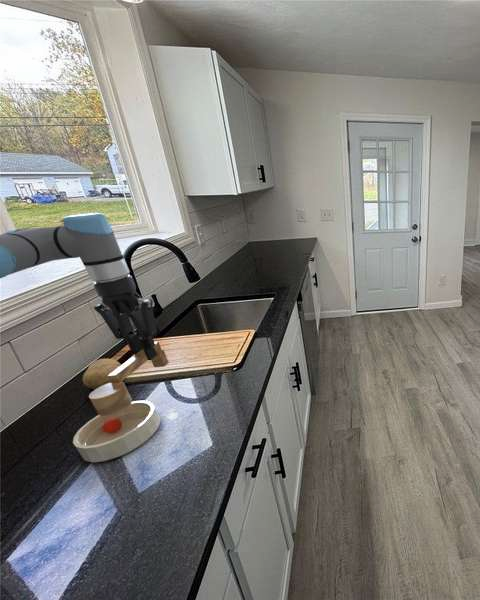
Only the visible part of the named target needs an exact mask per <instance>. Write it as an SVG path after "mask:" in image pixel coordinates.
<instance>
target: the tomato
mask: <svg viewBox="0 0 480 600" xmlns="http://www.w3.org/2000/svg"><path fill="white" fill-rule="evenodd" d="M121 425H122V423H121V421H120V420H119V419H117V418H112V419H109V420H107V421H106V422H105V423H104V424H103V431H104V432H106V433H114V432H116V431H118V430H119V429H120V427H121Z"/></svg>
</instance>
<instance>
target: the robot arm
mask: <svg viewBox="0 0 480 600" xmlns="http://www.w3.org/2000/svg"><path fill="white" fill-rule="evenodd" d="M62 223H63V225H57V226H56V225H55V226H44V227H43V226H42V227H31V228H30V227H25V228H24V227H23V228H18V229H14V230H9V231H8V230H7V231H6V232H4V233H0V279H3V278H5V277H8V276H9V275H12V274H16V273H18V272H21V271H24V270H27V269H31V268H34V267H37V266H40V265H43V264H46V263H49V262H54V261H59V260H67V259H68V260H69V259H78V258H79V259H80V260H81V262H82V264H83V266H84V269H85V271H86V273H87V275H88V277H89V280H90V281H92V282H93V284H92V286H93V287H94V289H95V291H96V294H97V296H98V297H100V298H101V303H99V304H97V305H95V306H94V307H93V309H94V311H96V313H98V314H99V315H100V316H101V318H102V319H103V321H104V323H105V324H106V325H107V327H108V328H109V330H110V331H111V333H112V334H113V336H114V337H115V339H117V340H120V339H122V340H124V341H125V342H126V344H127V345H128V349H130V350H131V351H132V352H133V353H134V355H136V354H137V353H138V352H140V351H141V350H142V349H143V350H144V352H145V354H146V356H147V359H148V360H147V361H151V360H152V359H153V358H154V357H156V356H157V353H156V350H155V348H154V346H155V343H154V342H155V340H154V338H153V335H155V334H156V333H157V332H158V331H159V330H158V325H157V322H156V318H155V314H154V310H153V304H154V301H153V299H152V298H148V299H146V298H142V297H141V295H140V294H138V292H137V285H136V283H135V280H134V278H133V276H132V275H130V272H131V271H130V268H129V267H128V264H127V262H126V260H125V257H124V256H123V255H124V254H123V253H122V251H121V248H120V245H119V244H118V243H119V242H118V240H117V238H116V236H115V231H114V229H112V226H111V224H110V222H109V220H108V218H107V217H106V216H105V214H102V213H98V212H94V213H93V212H92V213H83V214H73V215H67V216H63V218H62ZM133 326H134V327H135V330H136V331H137V332H135V331H134V327H133ZM137 334H138V335H137Z"/></svg>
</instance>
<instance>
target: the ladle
mask: <svg viewBox="0 0 480 600" xmlns="http://www.w3.org/2000/svg"><path fill="white" fill-rule="evenodd" d="M154 343H155V346H154V348H155V350H156V353H157V356H156V357H154V358H153V359H152V360H150V361H151V363H152V365H153V368H163V367H166V366H167V365H168V364H170V362H169V359H168V357H167V356H166V355H167V354H166V352H165V350H164V348H162V347H161V345H160V342H159V341H154ZM147 361H149V360H148V359H147V356H146V354H145V352H144V350H143V349H142V350H141V351H140V352H138V353H137V354H136V355H135V354H134V355H133V356H132V357H130V358H129V359H128V360H125V362H124V363H122V364H121V366H120V367H118V368H117V369H116V370H114V371H113V372H112V373H111V374H109V375H108V376H107V377H108V379H109V381H110V382H111V383H108V384H105V385H103V386H101V387H99V388H97V389H93V390H92V391H91V392H90V393H89V395H88V398H89V401H90V402H91V404H92V406H93V408H94V409H95V412H96V413H97V415H100V416H108V415H112V414H115V413H117V412H119V411H121V410H123V409H125V408H126V407H127V406H129V405H130V404H131V402H133V398H132V396H131V395H130V392H129V390H128V388H127V386H126V385H125V382H123V381H124V380H125V379H127V378H128V377H130V375H132V374H133V373H134V372H135V371H136V370H138V369H139V368H140V367H142V366H143V365H144V364H145V363H146V362H147Z"/></svg>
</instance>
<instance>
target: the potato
mask: <svg viewBox="0 0 480 600" xmlns="http://www.w3.org/2000/svg"><path fill="white" fill-rule="evenodd" d="M121 365H122V364H121V363H120V362H119V361H117V360H115V359H113V358H100V359H97V360H95V361H93V362H91V364H89V366H88V367H87V369H86V370H85V372H84V373H83V375H82V383H83V385H84V386H85V387H87V388H89V389H92V390H95V389H97V388H99V387H101V386H103V385H105V384H108V383H111V382H110V381H109V379H108V377H107V376H108V375H109V374H111V373H112V372H113V371H114V370H116V369H117V368H118V367H120V366H121Z"/></svg>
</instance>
